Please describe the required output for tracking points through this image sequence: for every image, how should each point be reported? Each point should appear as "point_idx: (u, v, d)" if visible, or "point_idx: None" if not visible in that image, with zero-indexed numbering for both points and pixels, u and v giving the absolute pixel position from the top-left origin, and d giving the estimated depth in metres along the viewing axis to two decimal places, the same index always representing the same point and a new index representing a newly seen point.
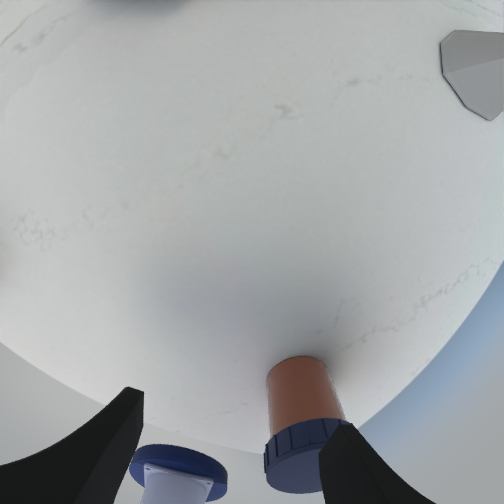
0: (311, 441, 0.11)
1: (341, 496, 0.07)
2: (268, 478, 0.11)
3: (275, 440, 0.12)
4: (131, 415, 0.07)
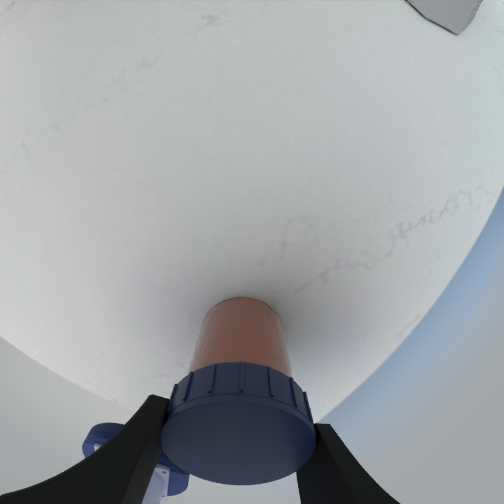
0: (213, 391, 0.08)
1: (315, 498, 0.06)
2: (164, 449, 0.08)
3: (174, 391, 0.09)
4: (159, 424, 0.07)
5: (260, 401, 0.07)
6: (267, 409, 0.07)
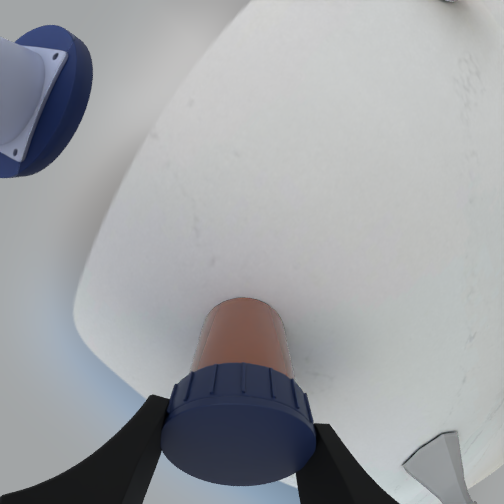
0: (214, 392, 0.08)
1: (315, 498, 0.06)
2: (163, 449, 0.08)
3: (174, 391, 0.09)
4: (159, 424, 0.07)
5: (262, 403, 0.07)
6: (269, 411, 0.07)
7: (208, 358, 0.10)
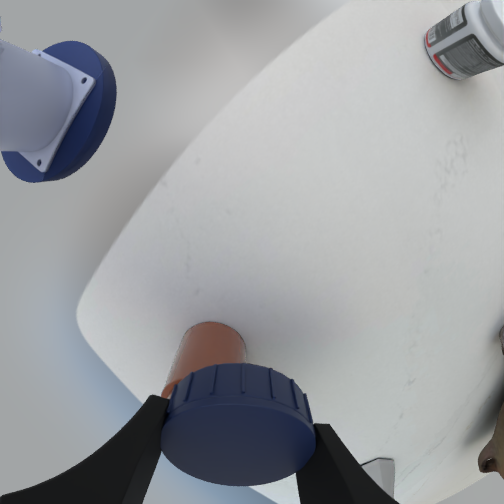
0: (214, 392, 0.08)
1: (315, 498, 0.06)
2: (163, 449, 0.08)
3: (173, 391, 0.09)
4: (159, 424, 0.07)
5: (262, 403, 0.07)
6: (269, 411, 0.07)
7: (184, 369, 0.14)
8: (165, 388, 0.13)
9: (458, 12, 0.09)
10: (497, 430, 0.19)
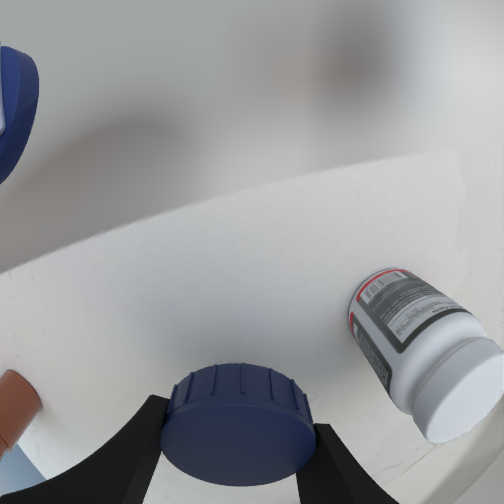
0: (214, 393, 0.08)
1: (315, 498, 0.06)
2: (163, 450, 0.08)
3: (173, 391, 0.09)
4: (159, 424, 0.07)
5: (262, 403, 0.07)
6: (269, 411, 0.07)
7: None
8: None
9: (417, 318, 0.09)
10: None
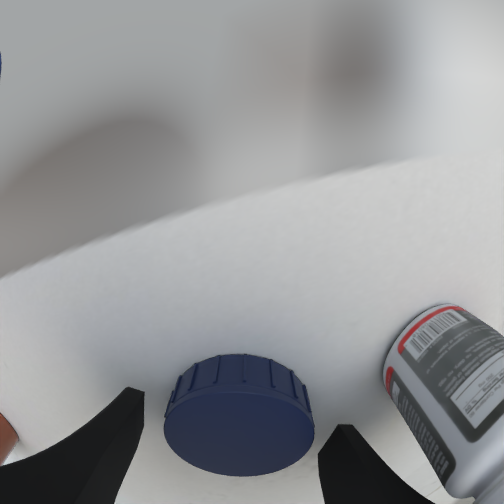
0: (217, 381, 0.08)
1: (340, 496, 0.06)
2: (167, 439, 0.08)
3: (178, 382, 0.09)
4: (132, 415, 0.07)
5: (262, 391, 0.08)
6: (269, 399, 0.08)
7: None
8: None
9: (496, 391, 0.04)
10: None
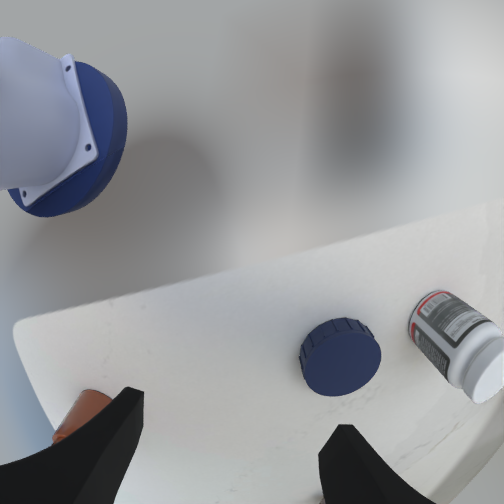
0: (339, 330, 0.17)
1: (341, 496, 0.06)
2: (306, 371, 0.17)
3: (310, 337, 0.18)
4: (131, 415, 0.07)
5: (361, 332, 0.16)
6: (364, 336, 0.16)
7: None
8: (58, 434, 0.14)
9: (463, 326, 0.13)
10: None
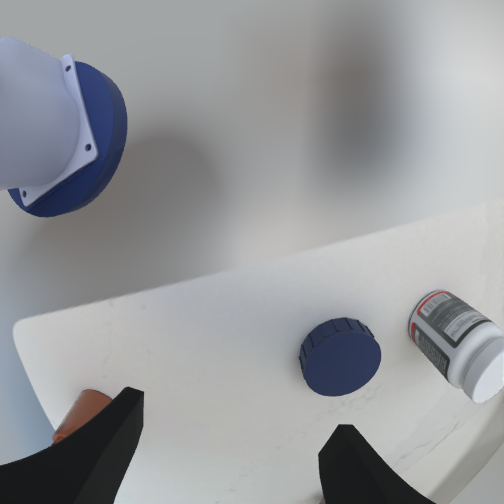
0: (339, 330, 0.17)
1: (341, 496, 0.06)
2: (306, 371, 0.17)
3: (310, 336, 0.18)
4: (131, 415, 0.07)
5: (361, 332, 0.16)
6: (364, 336, 0.16)
7: None
8: (58, 434, 0.14)
9: (463, 326, 0.13)
10: None
